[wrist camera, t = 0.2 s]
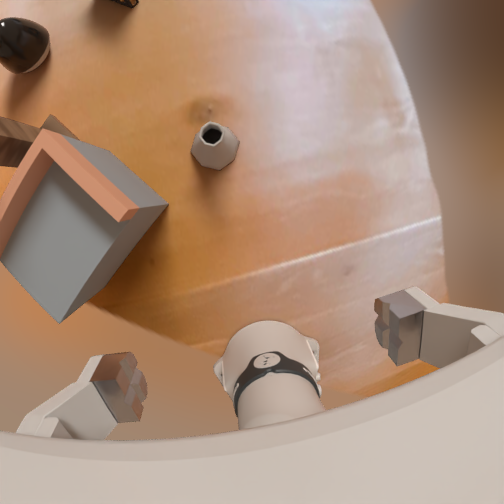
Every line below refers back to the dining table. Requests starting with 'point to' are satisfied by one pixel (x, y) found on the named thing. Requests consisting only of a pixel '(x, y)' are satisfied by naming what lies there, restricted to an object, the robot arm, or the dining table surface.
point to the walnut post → (23, 138)
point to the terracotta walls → (75, 165)
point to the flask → (214, 146)
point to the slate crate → (76, 234)
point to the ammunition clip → (127, 2)
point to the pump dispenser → (22, 44)
